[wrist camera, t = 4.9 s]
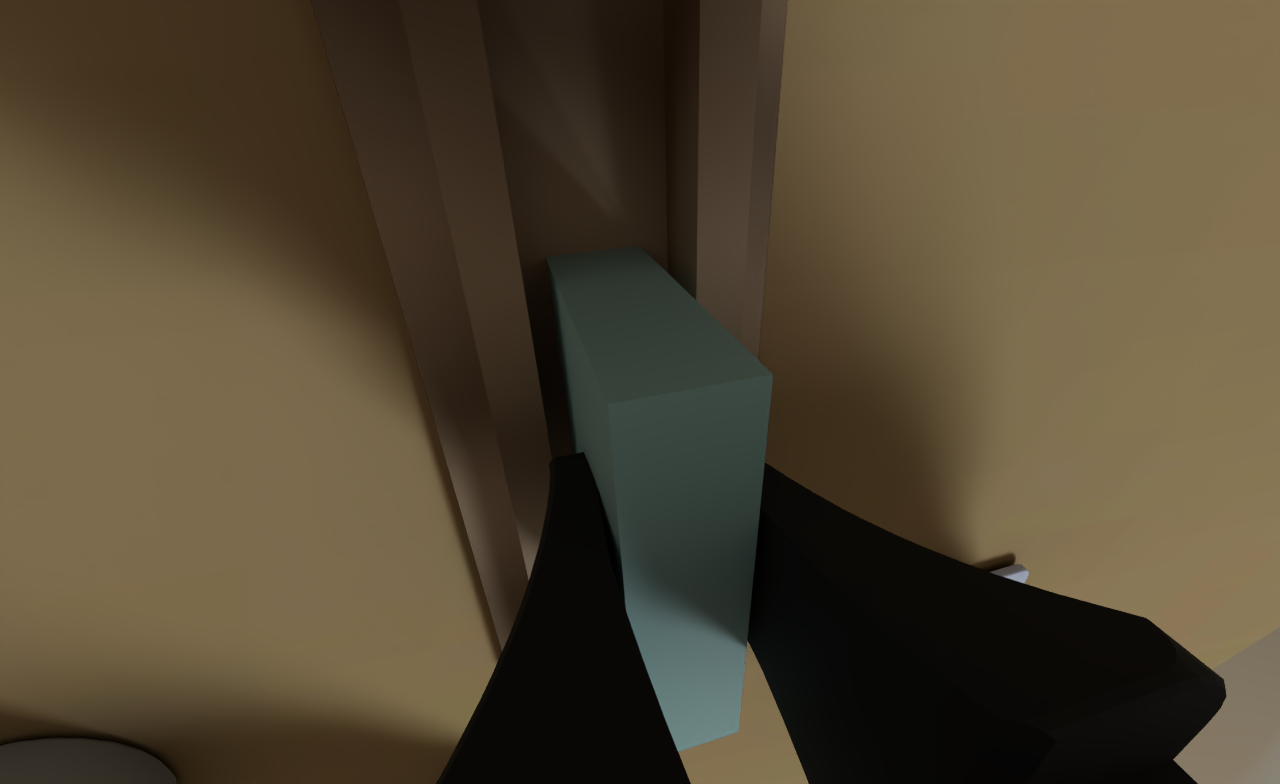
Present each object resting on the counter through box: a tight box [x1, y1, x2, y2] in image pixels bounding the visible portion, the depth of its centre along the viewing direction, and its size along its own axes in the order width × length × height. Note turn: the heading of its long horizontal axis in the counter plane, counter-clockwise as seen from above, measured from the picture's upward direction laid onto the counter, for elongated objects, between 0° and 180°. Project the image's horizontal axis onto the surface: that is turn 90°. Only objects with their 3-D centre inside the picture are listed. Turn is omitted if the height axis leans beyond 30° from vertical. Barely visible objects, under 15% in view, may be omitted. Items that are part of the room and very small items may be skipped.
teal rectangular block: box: [545, 246, 773, 752], centre depth 11 cm, size 8×2×6 cm, turn 2°
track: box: [311, 0, 788, 651], centre depth 10 cm, size 21×8×7 cm, turn 2°
